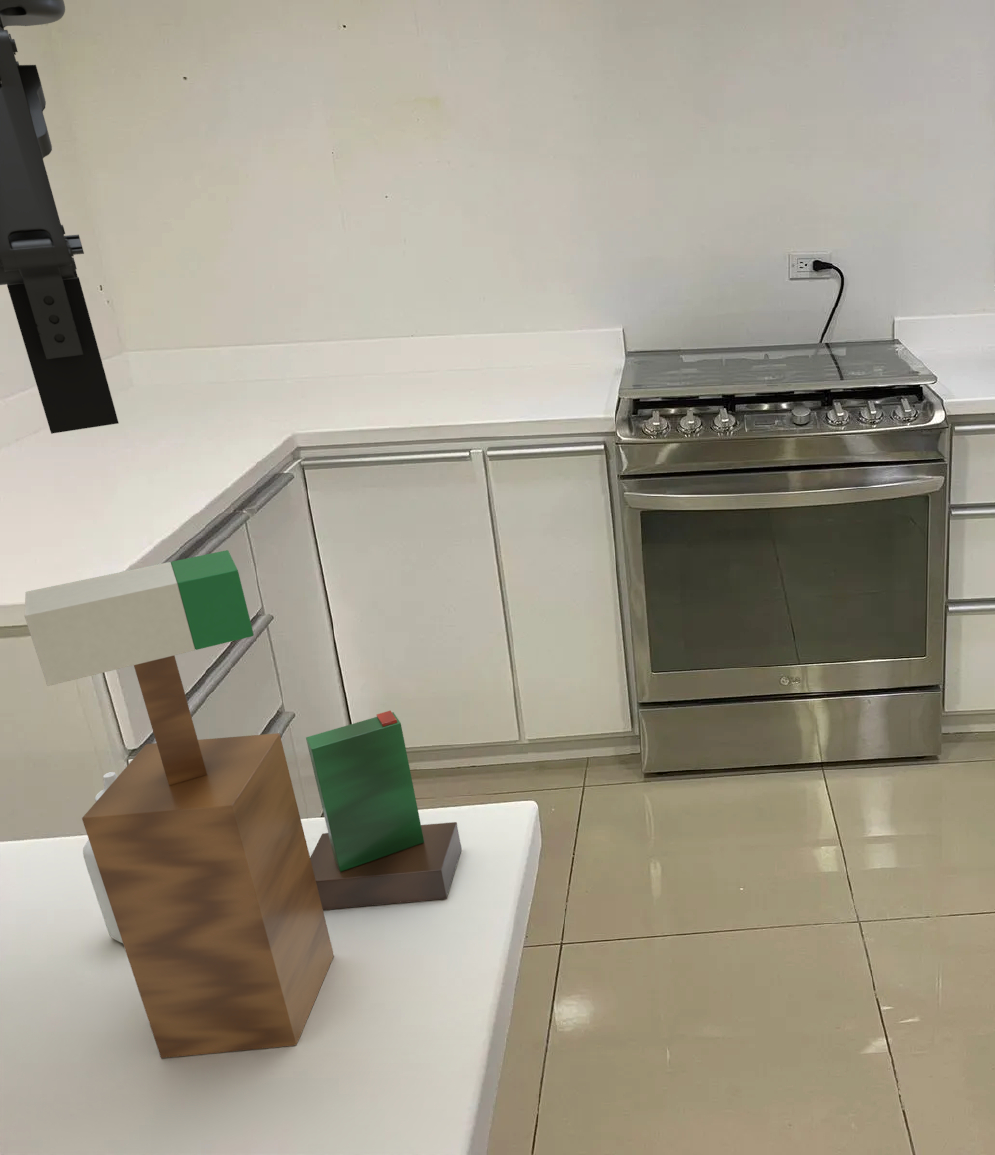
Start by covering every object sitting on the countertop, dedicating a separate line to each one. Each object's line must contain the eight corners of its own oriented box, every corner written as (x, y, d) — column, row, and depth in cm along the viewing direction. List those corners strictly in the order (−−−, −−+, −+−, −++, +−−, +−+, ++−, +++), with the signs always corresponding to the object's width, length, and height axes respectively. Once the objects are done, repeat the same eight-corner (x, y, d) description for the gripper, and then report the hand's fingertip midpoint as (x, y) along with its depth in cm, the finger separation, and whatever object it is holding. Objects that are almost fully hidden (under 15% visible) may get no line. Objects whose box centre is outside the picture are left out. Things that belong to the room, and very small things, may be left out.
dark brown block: (304, 911, 80) (296, 882, 79) (328, 860, 85) (321, 833, 84) (446, 899, 80) (441, 870, 79) (461, 849, 86) (456, 821, 85)
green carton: (340, 872, 79) (310, 746, 76) (334, 858, 81) (304, 734, 77) (424, 842, 82) (400, 719, 78) (417, 829, 84) (392, 708, 80)
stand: (160, 1058, 67) (37, 686, 58) (212, 966, 75) (110, 623, 65) (296, 1045, 68) (196, 674, 58) (334, 955, 75) (250, 613, 66)
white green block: (47, 686, 58) (24, 615, 56) (47, 659, 61) (25, 591, 60) (254, 636, 63) (237, 569, 61) (243, 613, 66) (228, 549, 64)
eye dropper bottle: (110, 918, 80) (61, 773, 76) (196, 890, 83) (154, 748, 78) (111, 953, 77) (60, 803, 72) (201, 923, 79) (157, 776, 75)
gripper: (-127, -39, 57) (1, 376, 65) (-218, -149, 37) (-18, 469, 45) (43, -36, 61) (145, 357, 69) (44, -136, 41) (187, 436, 49)
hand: (81, 402), depth 57 cm, fingers open, 13 cm apart
